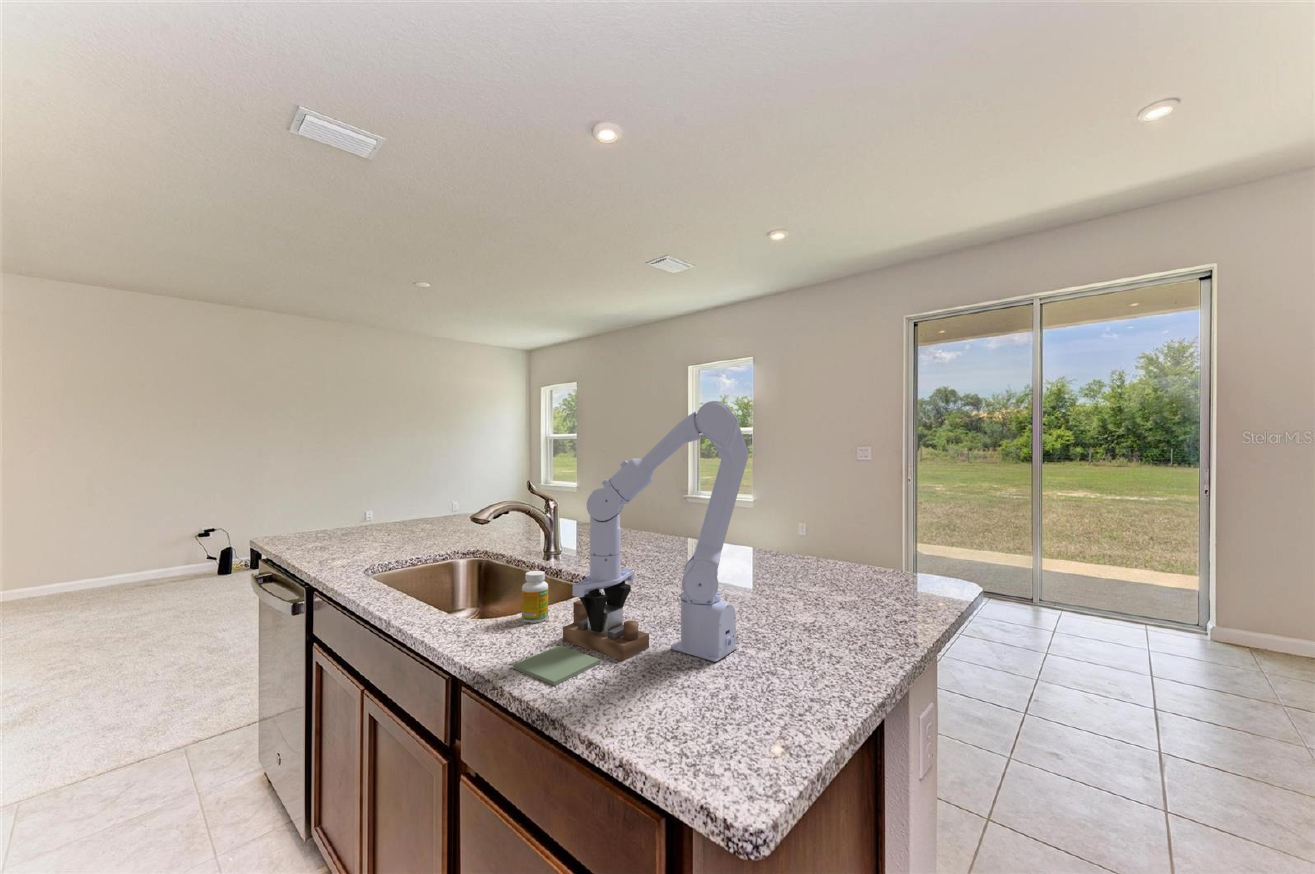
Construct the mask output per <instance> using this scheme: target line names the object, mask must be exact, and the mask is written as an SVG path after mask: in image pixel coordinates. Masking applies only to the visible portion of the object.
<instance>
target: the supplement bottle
mask: <svg viewBox="0 0 1315 874" xmlns="http://www.w3.org/2000/svg"><path fill="white" fill-rule="evenodd" d="M524 578H525V579H524V580H525V581H526V582H525V583H523V584H522V586H521V620H522V622H524V623H526V622H530V623H529V624H537V623H536V622H539V623H543V622H545V621H547V620H548V618H549V584H548V582H546V581H545V579H546V571H543V570H530V571H527V572H525V577H524ZM544 620H545V621H544ZM542 621H543V622H542Z"/></svg>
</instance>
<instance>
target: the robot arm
mask: <svg viewBox="0 0 1315 874" xmlns="http://www.w3.org/2000/svg"><path fill="white" fill-rule="evenodd" d="M700 434H702V435H703V436H704V437H705V438H707V440H709V441H710V442H711V443H712V444H713V447H714V448H715V450H716V452H717V453H718V455H719V457H720V463H719V466H718V470H717V472H716V473H717V474H716V476H715V480H714V483H713V487H712V491H711V494H710V497H709V502H708V505H707V508H706V512H705V515H704V519H703V522H702V525H701V529H700V532H699V537H698V540H697V543H696V546H695V550H694V552H693V555H692V556H691V558H689V560H688V561H687V562H686V563H685V566H684V568H683V569H684V573H683V576H682V578H681V579H682V580H681V588H682V591H683V592H681V593H680V640H679V641H677V642H676V643H674V644H672V645H670V649H671V650H673V651H676V652H681V653H683V654H687V655H691V656H694V657H697V658H702V659H705V660H707V661H710V662H711V661H712V662H716V663H717V662H718V661H720V660H722V659H723V658H725V657H726V656H727V655H729V654H730V653H732V652H733V651H735V650H736V649H738V648H739V645H738V644H737V641H736V639H737V637H736V636H737V635H736V634H737V632H736V631H737V630H736V629H737V628H736V625H737V624H736V622H737V620H736V619H737V618H736V610H735V607H734V605H732V603H731V604H730V603H728V602H726V601H724V600H723V599H722V595H721V593H720V592H719V591H718V590H719V579H718V578H719V577H718V575H719V573H718V571H719V570H718V569H719V565H720V561H721V557H722V555H721V554H722V550H723V547H724V543H725V540H726V536H727V533H728V529H729V526H730V523H731V519H732V515H733V512H734V508H735V505H736V501H737V499H738V494H739V491H740V488H741V484H742V480H743V477H744V473H745V470H746V466H747V462H748V459H749V450H748V447H747V444H746V441H745V439H744V435H743V433H742V430H741V425H740V424H739V420H738V418H737V416H736V415H735V414H734V412H732V410H731V409H730V407H729V406H728V405H727V404H726V403H724V402H721V401H718V400H711V401H708V402H705V403H704V404H702V405H701V406H700V407H699V409H698V410H697V412H696V411H693V412H692V413H691V414H689V415H687V416H686V417H685V418H684V419H681V421H680V422H678V423H677V424H676V425H675V426H674V427H673V428H672V429H671V430H670V431H669V432H668V433H667V434H666V435H665V436H663V438H662V439H660V441H659V442H658V443H657V444H655V445H654V447H652V448H651V449H650V450H649V451H648V452H647V453H646V454H645V455H644V456H643V457H642V458H635V457H634V458H630V459H629V460H624V461H622V462H621V463H620V467H621V468H620V469H618V470H617V471H616V472H615V473H614V474H613V475H611V477H610V478H609V479H607V478H605V479H604V480H603V481H601V485H602V486H603V487H599V488H596V489H594V490H593V491H591V493H590V495H589V496H588V497H587V500H586V511H587V513H588V514H589V523H590V524H589V525H590V526H589V573H588V574H587V575H586V578H584V579H582V580H581V581H579V582H577V583H575V584H572V597H577V598H579V600H581V601H582V603H583V605H584V607H585V610H586V612H587V615H588V619H589V623H590V627H591V631H594V632H598V633H600V632H602V628H603V615H604V608H605V604H608V605H612V606H616V607H620V608H624V605H625V603H626V601H627V598H628V596H629V593H630V592H631V590H632V587H631V586H632V585H631V584H626V582H633V581H635V570H634V569H630V568H625V569H622V567H621V566H622V565H621V564H622V560H621V559H622V558H621V557H622V556H621V555H622V553H621V550H622V547H621V546H622V542H621V541H622V540H621V539H622V538H621V537H622V529H621V512H622V510H623V508H624V505H628V504H630V502H632V501H633V500H634V499H635V498H636V497H637V496H638V495H639V494H640V493H641V492H643V491H644V490H645V489H647V487H648V486H649V485H651V484H652V483H653V481H654V471H655V470H656V469H658V468H659V467H660V466H661V465H662V464H664V463H665V461H667V460H668V459H669V458H670V457H671V456H672V455H674V454H675V453H676V452H677V451H679V450H680V449H681V448H682V447H683V446H685V445H686V444H688V443H691V442H695V441H698V440H702V439H701V435H700ZM601 590H603V592H604V594H603V593H602V591H601Z"/></svg>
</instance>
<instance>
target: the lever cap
mask: <svg viewBox="0 0 1315 874" xmlns="http://www.w3.org/2000/svg"><path fill="white" fill-rule="evenodd" d="M623 608H624V607H623ZM623 608H620V607H616V606H612V605H608V604H607V603H606V604H605V608H604V615H603V628H602V632H600V633H598V632H594V631H591V627H590V623H589V619H588V631H591V632H594V633H598V634H601V635H604V636H607V637H608V631H610V630H612V629H614V628H617V627H619V626H621V625H624V620H623V619H624V618H623V617H624V616H623V614H624V611H623V610H624V609H623Z"/></svg>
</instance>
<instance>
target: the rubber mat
mask: <svg viewBox="0 0 1315 874" xmlns="http://www.w3.org/2000/svg"><path fill="white" fill-rule="evenodd" d="M599 664H601V659H600V658H597V657H594V656H591V655H588V654H585V653H583V652H580V651H577V650H574V649H571V648H568V647H565V646H562V645H557V646H555V647H553V648H550V649H548V650H544V651H543V652H541V653H538V654H536V655H534V656H531V657H528V658H526V659H523V660H520V661H519V662H516V663H514V664H512V669H514V670H516V671H518V672H521V673H523V674H525V675H528V676H530V677H532V678H535V679H538V680H539V679H540V681H541V682H545V683H546V684H549V685H551V686H554V687H555V686H557V685H559V684H561V683H564V682H565V681H567V680H569V679H571V678H573V677H575V676H577V674H578V675H579V674H581V673H583V672H586V671H587V670H590V669H591V668H593V667H596V666H598V665H599Z"/></svg>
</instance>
